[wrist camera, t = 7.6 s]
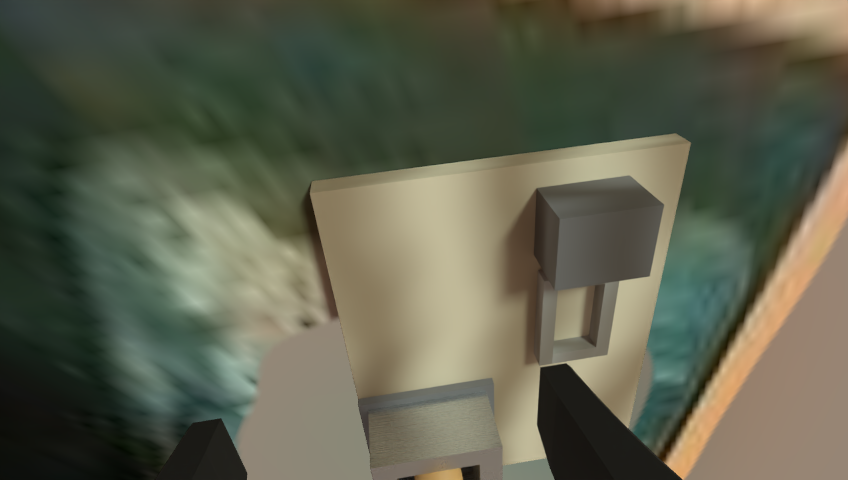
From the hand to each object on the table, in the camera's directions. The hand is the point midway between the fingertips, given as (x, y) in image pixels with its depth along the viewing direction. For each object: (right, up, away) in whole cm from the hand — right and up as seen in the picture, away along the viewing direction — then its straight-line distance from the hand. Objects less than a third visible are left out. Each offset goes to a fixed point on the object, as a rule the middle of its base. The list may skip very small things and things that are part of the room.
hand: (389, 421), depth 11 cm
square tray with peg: (+1, -5, +14) cm, 15 cm away
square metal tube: (+1, -6, +13) cm, 14 cm away
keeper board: (+4, 0, +12) cm, 13 cm away
